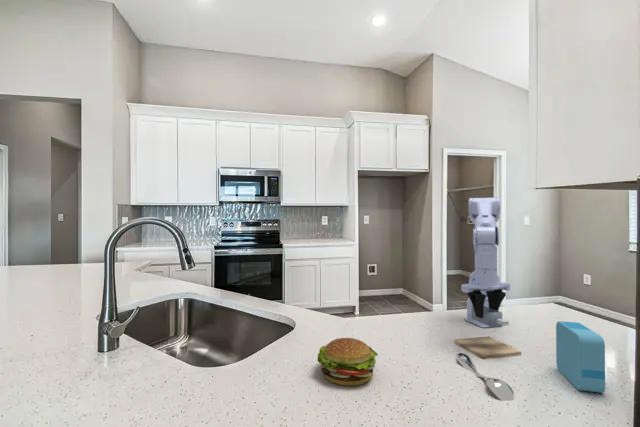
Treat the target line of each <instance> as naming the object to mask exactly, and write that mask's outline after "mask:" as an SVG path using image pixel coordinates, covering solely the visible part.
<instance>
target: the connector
mask: <svg viewBox="0 0 640 427" xmlns="http://www.w3.org/2000/svg"><path fill="white" fill-rule="evenodd" d="M471 318H472V319H474V320H476V321H478V322H481V323H483V324H485V325H488V326H490V327H489V328H502V327H504V326H509V325H510V324H509V323H510V321H508V320H506V319H504V318H503V313H502V312H501V311H499V310H498V311H496V310H494V309H491V308H488V307H485V306H484V307H483V318H479V317H476V315H475V311H474V307H473V305H472V306H471Z"/></svg>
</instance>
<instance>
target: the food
mask: <svg viewBox="0 0 640 427" xmlns="http://www.w3.org/2000/svg"><path fill="white" fill-rule="evenodd" d="M377 356H378V353H377V352H376V351H375V350H374V349H373V348H372V347H371V346H369V345H367V343H366V342H364V341H363V340H362V341H361V340H360V339H357V338H352V337H340V338H335V339H333V340H331V341H330V342H329V343H327V344H325V345H324V346H321V347H320V348H319V351H318V353H317V360H316V361H317V362H318V363H319V364H320V372H321V373H322V375H323V376H324V378H325V379H326V380H327V381H329V382H331V383H333V384H337V385H341V386H360V385H362V384H365V383H367V382H369V381H370V380H371V379H372V377H373V373H374V369H375V367H376V365H375V364H376V362H377V360H376V358H375V357H377Z"/></svg>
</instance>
